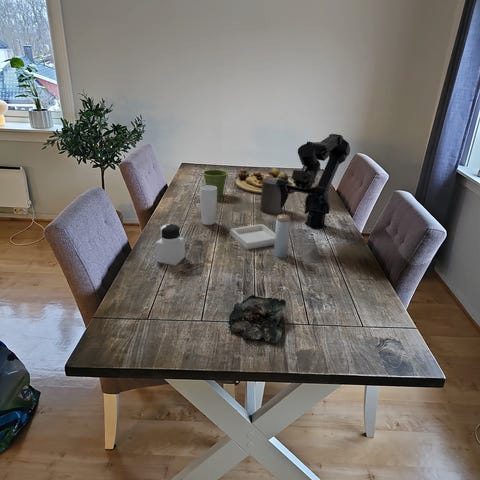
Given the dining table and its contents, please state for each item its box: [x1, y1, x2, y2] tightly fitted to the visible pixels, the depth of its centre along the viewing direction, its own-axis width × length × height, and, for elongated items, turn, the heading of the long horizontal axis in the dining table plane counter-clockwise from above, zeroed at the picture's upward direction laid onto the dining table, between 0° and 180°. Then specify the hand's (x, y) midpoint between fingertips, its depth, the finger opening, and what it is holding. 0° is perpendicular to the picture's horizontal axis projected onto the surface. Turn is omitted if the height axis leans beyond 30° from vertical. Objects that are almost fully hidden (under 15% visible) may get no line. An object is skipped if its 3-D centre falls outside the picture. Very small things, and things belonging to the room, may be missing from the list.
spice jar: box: [273, 213, 292, 259], centre depth 145 cm, size 5×5×14 cm
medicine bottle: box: [155, 223, 186, 266], centre depth 139 cm, size 7×7×12 cm
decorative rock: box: [227, 294, 287, 344], centre depth 110 cm, size 19×6×15 cm
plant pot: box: [202, 169, 229, 198], centre depth 202 cm, size 12×12×11 cm
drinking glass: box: [199, 184, 218, 226], centre depth 169 cm, size 7×7×15 cm
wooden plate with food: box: [235, 167, 295, 196], centre depth 220 cm, size 32×32×8 cm
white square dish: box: [229, 223, 275, 251], centre depth 158 cm, size 14×14×2 cm
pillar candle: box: [260, 177, 283, 215], centre depth 185 cm, size 10×10×15 cm
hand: (292, 210), depth 148 cm, fingers open, 9 cm apart
